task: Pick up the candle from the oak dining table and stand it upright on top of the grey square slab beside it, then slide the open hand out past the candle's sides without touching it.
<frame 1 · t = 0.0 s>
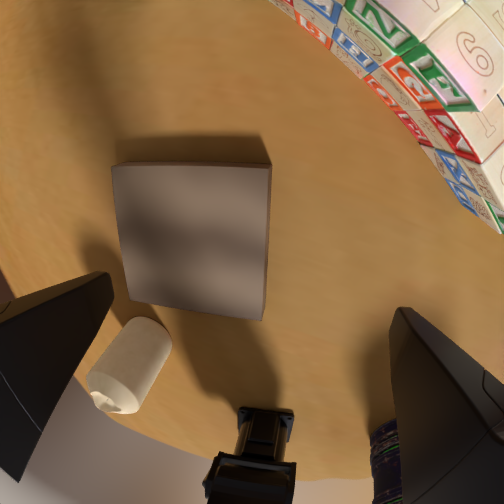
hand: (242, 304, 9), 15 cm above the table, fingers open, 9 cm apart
stack of blocks: (403, 70, 17), on the table
storage jar: (404, 432, 32), on the table
candle: (150, 335, 31), on the table
grey square slab: (194, 235, 25), on the table
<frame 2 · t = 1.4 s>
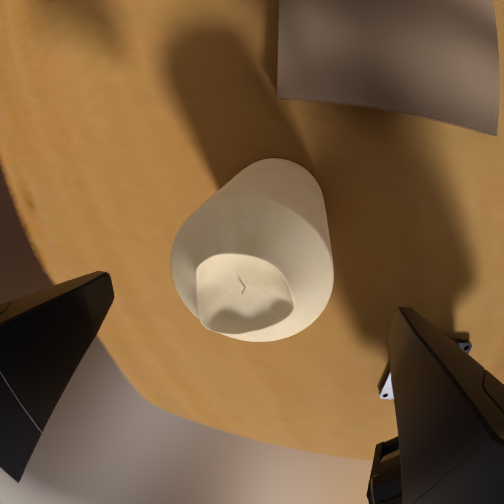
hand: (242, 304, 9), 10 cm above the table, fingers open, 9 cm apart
candle: (276, 203, 18), on the table
grey square slab: (390, 13, 12), on the table
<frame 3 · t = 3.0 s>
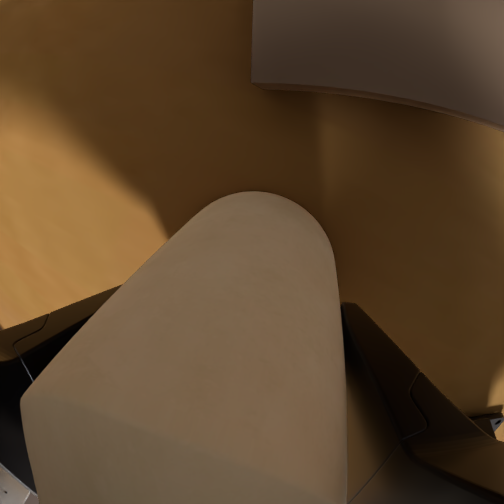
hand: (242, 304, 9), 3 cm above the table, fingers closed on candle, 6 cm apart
candle: (257, 262, 11), on the table, touching gripper
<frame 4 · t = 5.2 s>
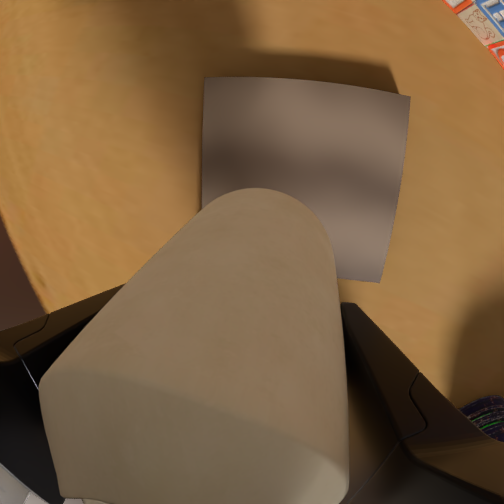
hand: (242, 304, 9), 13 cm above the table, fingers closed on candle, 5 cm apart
storage jar: (472, 419, 27), on the table
candle: (259, 256, 12), point 9 cm above the table, touching gripper
grey square slab: (301, 175, 20), on the table
when the fingers open (6 cm above the table, at t = 7.4 s): candle stays where it is, resting on grey square slab.
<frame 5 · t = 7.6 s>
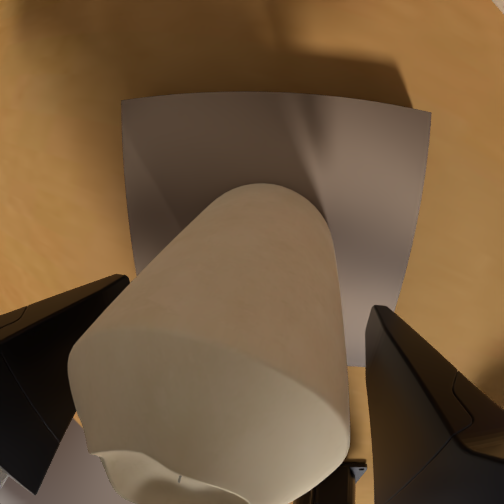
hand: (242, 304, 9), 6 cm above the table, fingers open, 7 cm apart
candle: (264, 247, 13), point 2 cm above the table, touching grey square slab
grey square slab: (269, 229, 14), on the table
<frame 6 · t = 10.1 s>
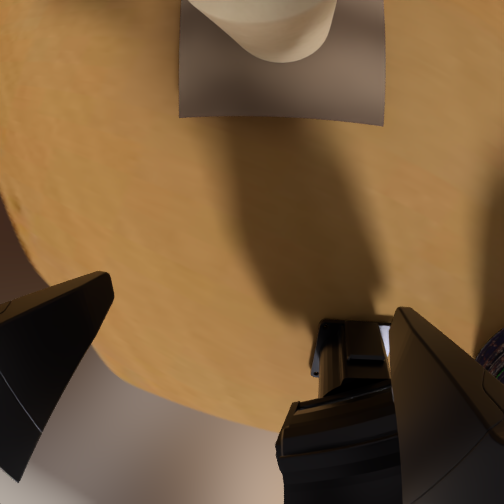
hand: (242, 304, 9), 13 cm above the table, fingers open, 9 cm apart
candle: (281, 22, 14), point 2 cm above the table, touching grey square slab
grey square slab: (282, 28, 16), on the table
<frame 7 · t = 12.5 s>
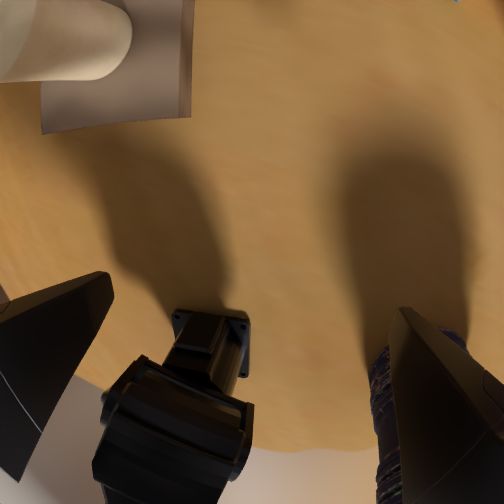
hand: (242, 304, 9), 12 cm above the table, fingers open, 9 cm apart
storage jar: (418, 367, 24), on the table
candle: (101, 43, 15), point 2 cm above the table, touching grey square slab
grey square slab: (115, 45, 17), on the table
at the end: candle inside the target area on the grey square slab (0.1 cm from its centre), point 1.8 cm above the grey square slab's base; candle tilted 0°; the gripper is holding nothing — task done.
